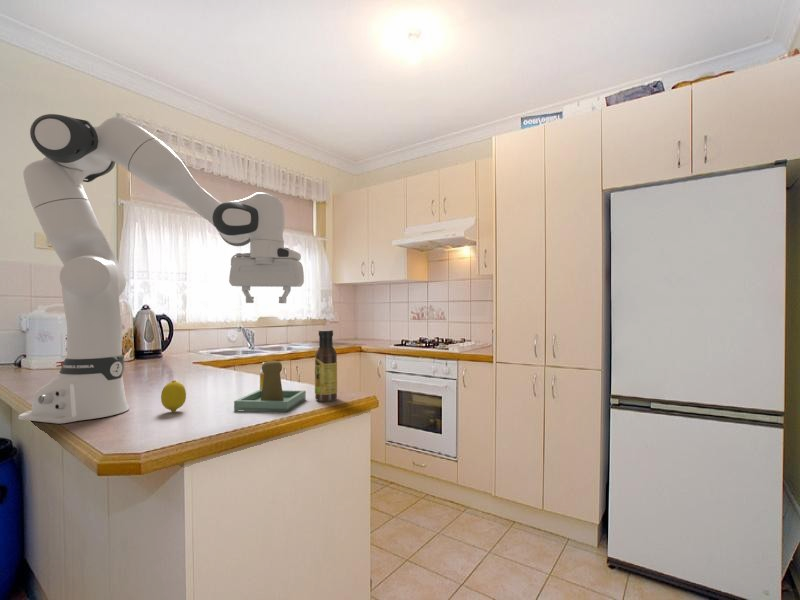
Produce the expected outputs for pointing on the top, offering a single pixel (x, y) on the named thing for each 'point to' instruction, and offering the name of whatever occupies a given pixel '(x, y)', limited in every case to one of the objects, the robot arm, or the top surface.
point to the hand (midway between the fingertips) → (266, 303)
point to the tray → (270, 402)
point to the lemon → (173, 396)
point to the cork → (272, 381)
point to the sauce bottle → (325, 368)
